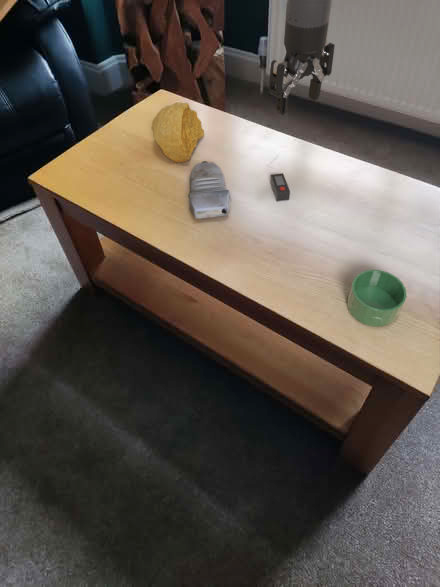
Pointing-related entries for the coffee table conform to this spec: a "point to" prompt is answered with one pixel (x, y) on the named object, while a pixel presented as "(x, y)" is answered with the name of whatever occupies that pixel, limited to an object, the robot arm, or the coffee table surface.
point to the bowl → (376, 297)
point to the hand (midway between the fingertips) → (297, 105)
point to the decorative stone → (177, 131)
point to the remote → (280, 187)
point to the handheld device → (208, 191)
